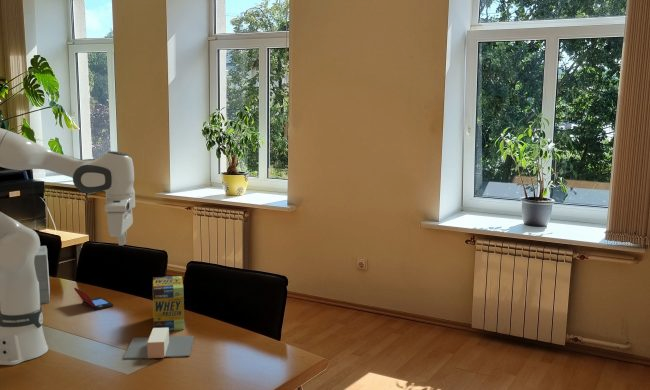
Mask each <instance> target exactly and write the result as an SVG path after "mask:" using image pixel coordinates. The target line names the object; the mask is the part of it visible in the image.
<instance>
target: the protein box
mask: <svg viewBox="0 0 650 390" xmlns="http://www.w3.org/2000/svg"><path fill="white" fill-rule="evenodd" d="M183 282H184V281H183V276H180V275H179V276H178V275H177V276H156V277H155V276H154V277H152V309H153V310H152V311H153V314H152V315H153V328H169V332H171V331H183V330H182V329H184V330H185V303H184V302H185V298H184V297H185V295H184V294H185V293H184V291H185V289H184V283H183Z"/></svg>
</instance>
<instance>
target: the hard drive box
mask: <svg viewBox="0 0 650 390" xmlns="http://www.w3.org/2000/svg"><path fill="white" fill-rule="evenodd" d="M34 266H35V271H36V276H37V280H38V282H39V293H40V305H43V304H49V303H50V298H51V297H50V295H51V293H50V292H51V289H50V275H49V274H50V273H49V260H48V248H47V245H40V249H39V251H38V253H37V254H36V256H35V258H34Z"/></svg>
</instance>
